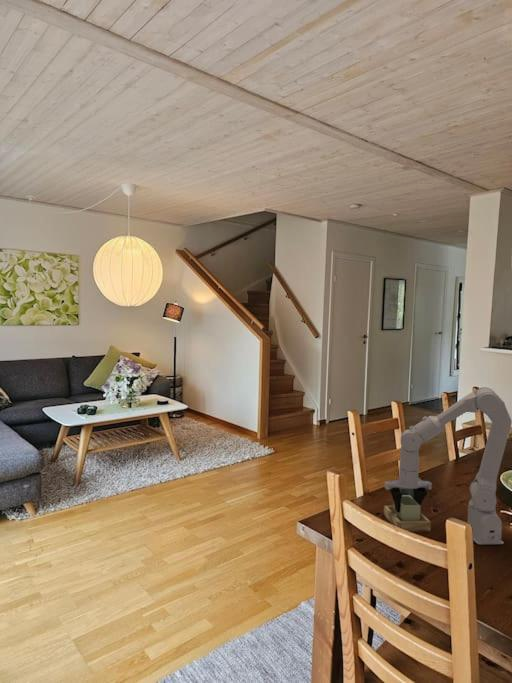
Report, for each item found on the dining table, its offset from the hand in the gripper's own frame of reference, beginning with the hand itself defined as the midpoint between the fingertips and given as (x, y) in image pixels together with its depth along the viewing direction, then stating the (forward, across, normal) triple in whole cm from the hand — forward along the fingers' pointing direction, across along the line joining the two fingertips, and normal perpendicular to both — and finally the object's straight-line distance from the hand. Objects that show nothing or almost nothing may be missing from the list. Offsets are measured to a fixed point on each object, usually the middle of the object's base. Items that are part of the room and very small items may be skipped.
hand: (406, 511), depth 143 cm
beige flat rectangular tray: (+4, 0, 0) cm, 4 cm away
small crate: (+2, 0, 0) cm, 2 cm away
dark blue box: (+4, -9, -17) cm, 20 cm away
